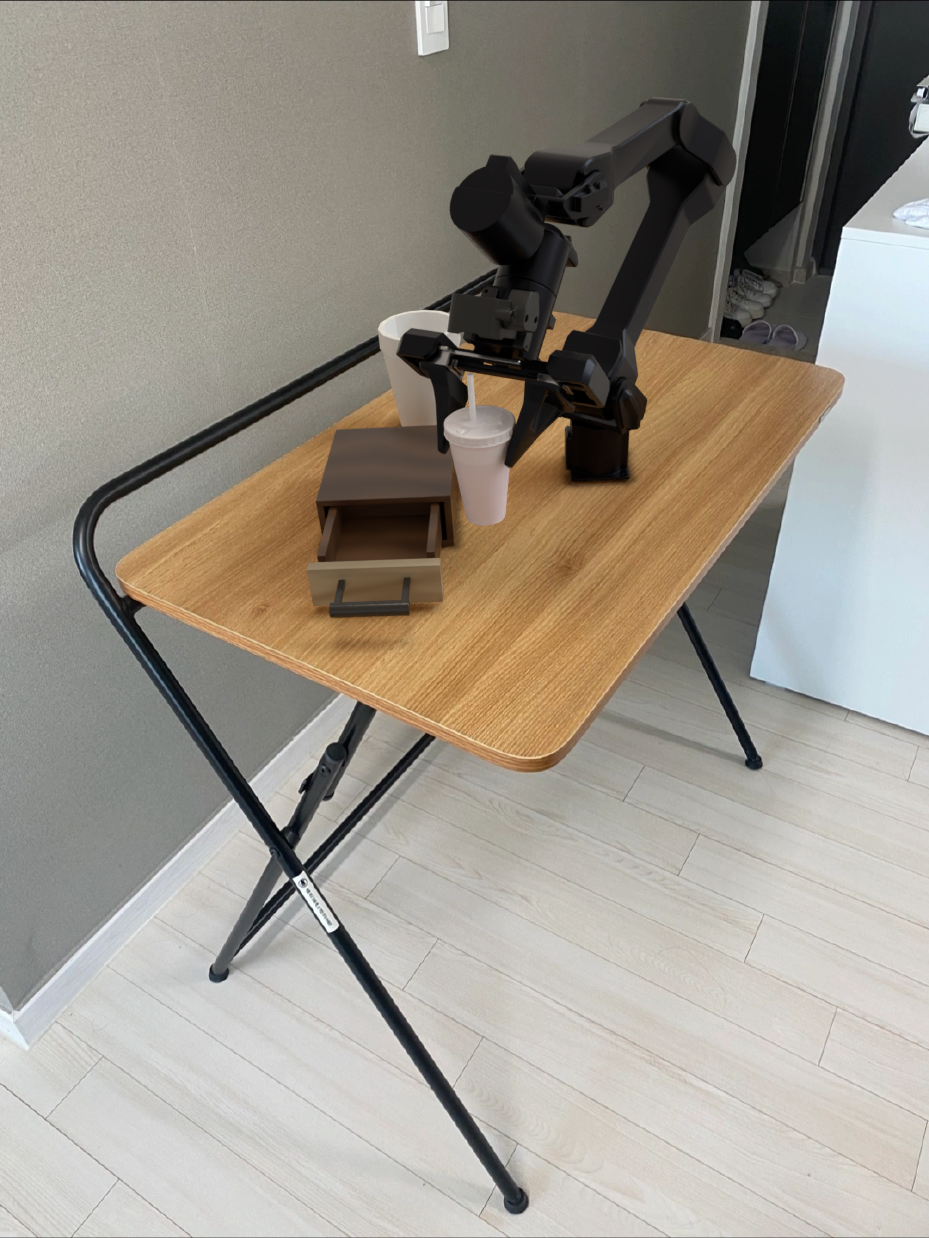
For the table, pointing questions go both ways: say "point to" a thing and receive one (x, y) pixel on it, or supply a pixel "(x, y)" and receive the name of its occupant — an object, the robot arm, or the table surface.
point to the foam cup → (407, 384)
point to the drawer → (378, 559)
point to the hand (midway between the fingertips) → (473, 459)
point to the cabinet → (389, 472)
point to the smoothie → (481, 457)
